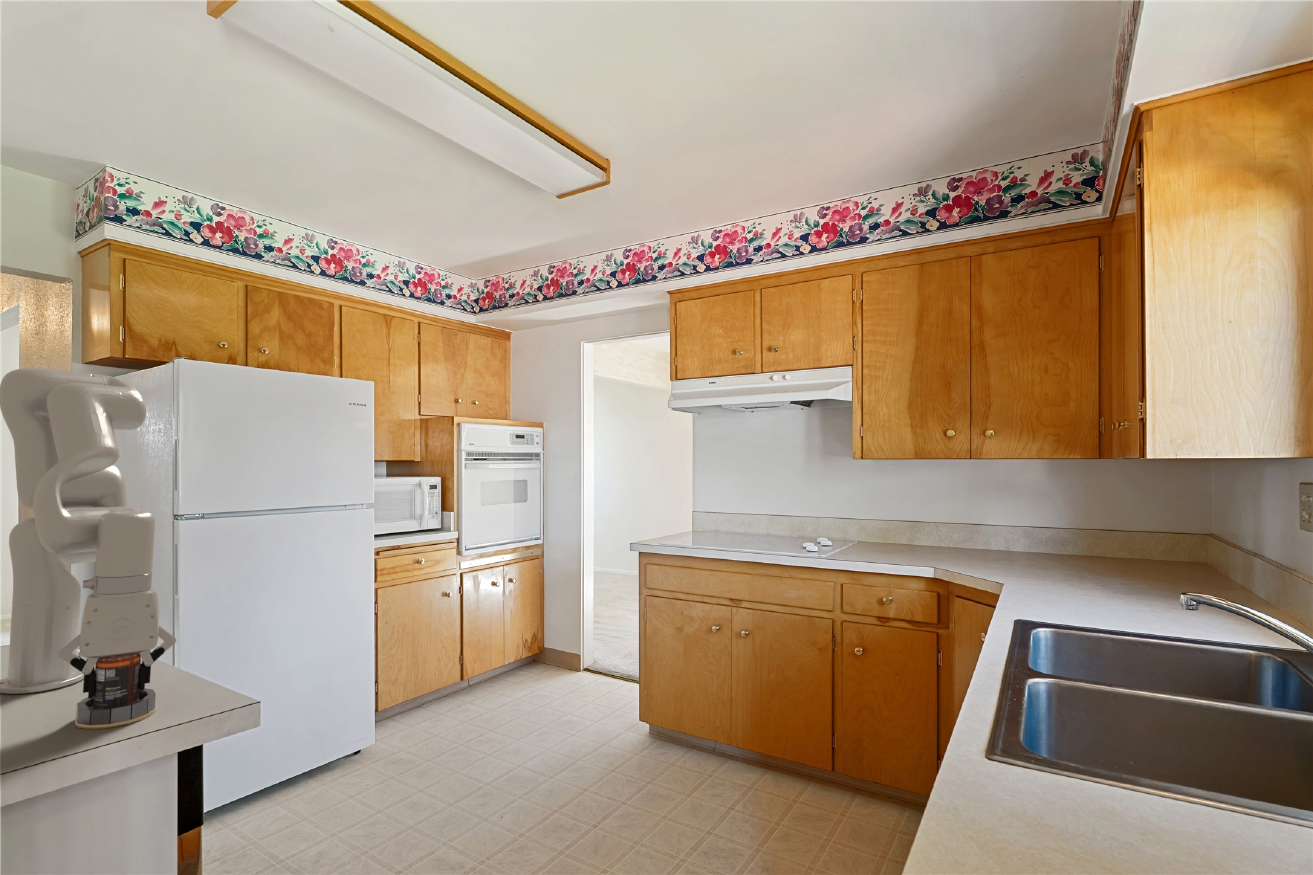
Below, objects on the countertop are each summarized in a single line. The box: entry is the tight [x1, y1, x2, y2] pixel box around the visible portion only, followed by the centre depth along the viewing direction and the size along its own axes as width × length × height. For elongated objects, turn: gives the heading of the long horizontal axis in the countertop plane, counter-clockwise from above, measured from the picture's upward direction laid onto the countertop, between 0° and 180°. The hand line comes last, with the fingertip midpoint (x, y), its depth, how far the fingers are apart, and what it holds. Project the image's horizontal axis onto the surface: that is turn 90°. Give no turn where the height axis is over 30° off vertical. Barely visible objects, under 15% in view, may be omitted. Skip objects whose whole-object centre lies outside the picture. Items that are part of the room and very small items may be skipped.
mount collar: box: [74, 687, 156, 730], centre depth 109 cm, size 10×10×3 cm
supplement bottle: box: [94, 653, 142, 708], centre depth 109 cm, size 6×6×11 cm
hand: (117, 690), depth 109 cm, fingers closed on supplement bottle, 5 cm apart
